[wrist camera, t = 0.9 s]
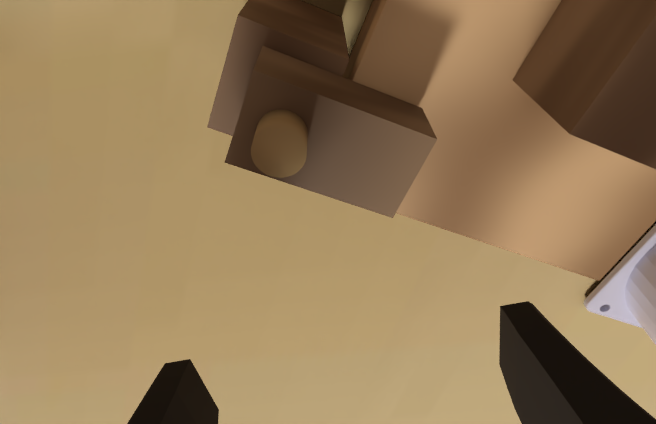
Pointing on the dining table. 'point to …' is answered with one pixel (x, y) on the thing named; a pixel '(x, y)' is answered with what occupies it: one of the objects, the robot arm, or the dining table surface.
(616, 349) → the dining table surface
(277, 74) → the block with round knob
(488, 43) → the lid
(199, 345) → the dining table surface
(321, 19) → the brown wooden open box
